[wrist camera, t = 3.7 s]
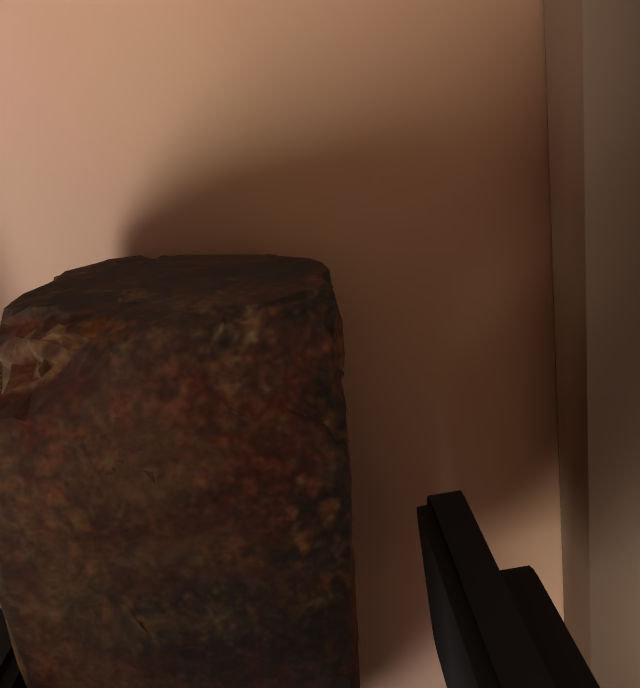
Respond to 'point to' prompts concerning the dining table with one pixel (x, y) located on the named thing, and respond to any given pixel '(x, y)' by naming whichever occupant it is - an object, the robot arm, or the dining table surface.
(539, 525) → the dining table surface
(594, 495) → the lane rack
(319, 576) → the brick
